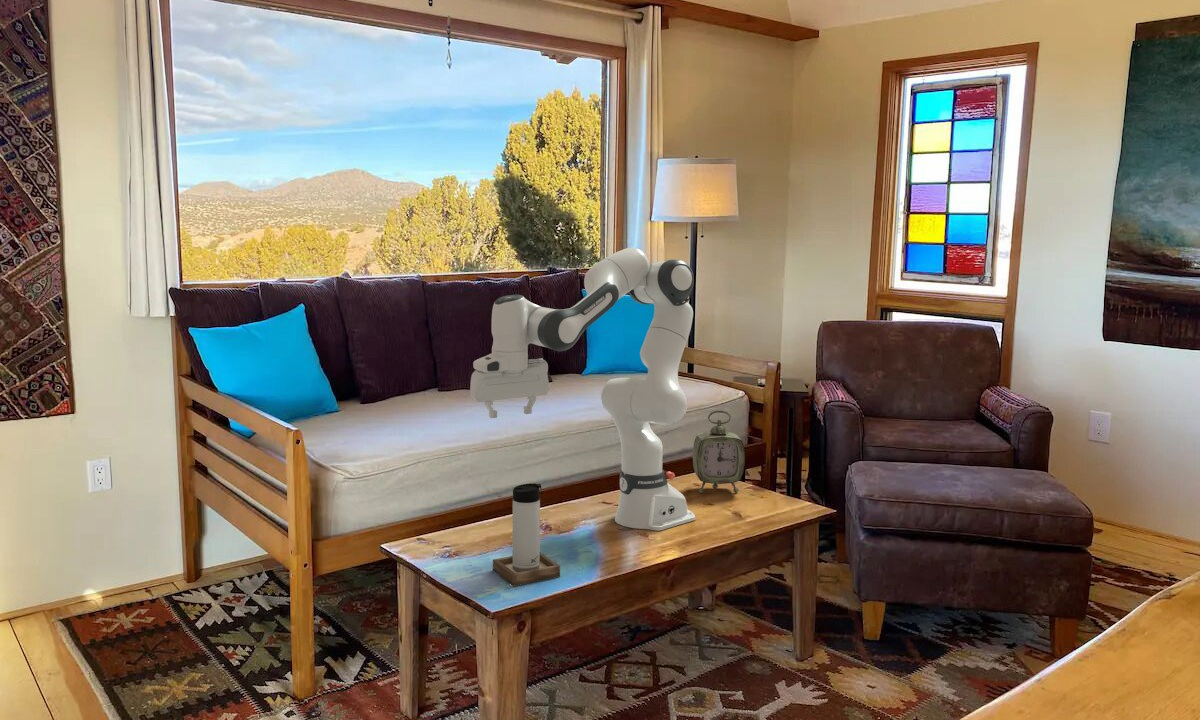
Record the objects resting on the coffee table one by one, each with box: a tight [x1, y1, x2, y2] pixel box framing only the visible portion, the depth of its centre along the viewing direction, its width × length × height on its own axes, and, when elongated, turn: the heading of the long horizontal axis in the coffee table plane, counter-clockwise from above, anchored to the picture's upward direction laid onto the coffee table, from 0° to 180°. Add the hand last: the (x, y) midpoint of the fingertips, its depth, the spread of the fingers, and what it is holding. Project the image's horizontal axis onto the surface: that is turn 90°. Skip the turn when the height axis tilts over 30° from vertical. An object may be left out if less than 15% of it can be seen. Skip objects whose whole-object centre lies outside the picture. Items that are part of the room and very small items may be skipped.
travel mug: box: [512, 483, 542, 572], centre depth 214 cm, size 6×7×20 cm
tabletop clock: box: [692, 410, 746, 494], centre depth 281 cm, size 14×9×25 cm, turn 95°
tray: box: [492, 551, 561, 587], centre depth 216 cm, size 12×11×3 cm
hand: (510, 415), depth 232 cm, fingers open, 8 cm apart
